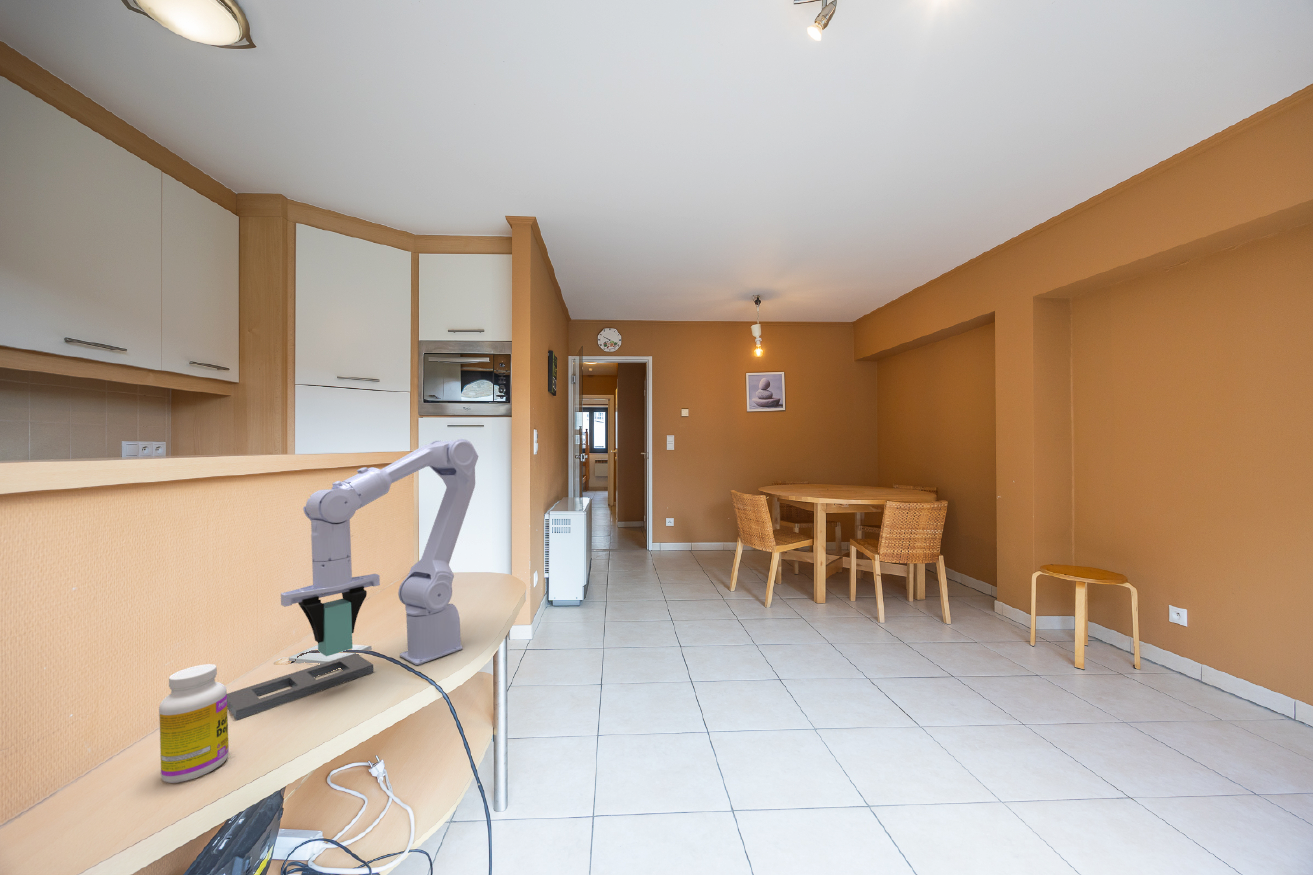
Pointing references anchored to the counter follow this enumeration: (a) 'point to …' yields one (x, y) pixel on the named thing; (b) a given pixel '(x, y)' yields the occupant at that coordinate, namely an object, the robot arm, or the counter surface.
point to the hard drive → (322, 658)
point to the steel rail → (296, 685)
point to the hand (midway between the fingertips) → (334, 636)
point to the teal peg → (336, 627)
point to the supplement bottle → (193, 724)
